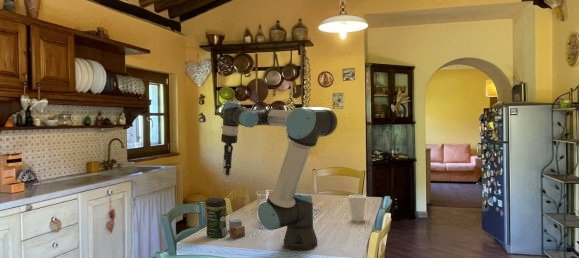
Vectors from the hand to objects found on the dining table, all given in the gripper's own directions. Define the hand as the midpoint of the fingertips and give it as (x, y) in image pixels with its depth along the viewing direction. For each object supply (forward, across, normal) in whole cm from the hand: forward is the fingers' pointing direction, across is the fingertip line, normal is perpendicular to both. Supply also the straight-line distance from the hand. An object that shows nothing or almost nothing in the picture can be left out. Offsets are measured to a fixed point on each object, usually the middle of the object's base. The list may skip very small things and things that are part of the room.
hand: (225, 177), depth 192 cm
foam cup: (+22, -6, +74) cm, 78 cm away
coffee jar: (+29, +3, -2) cm, 30 cm away
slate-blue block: (+30, -5, +8) cm, 31 cm away
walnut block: (+28, +7, +8) cm, 29 cm away
